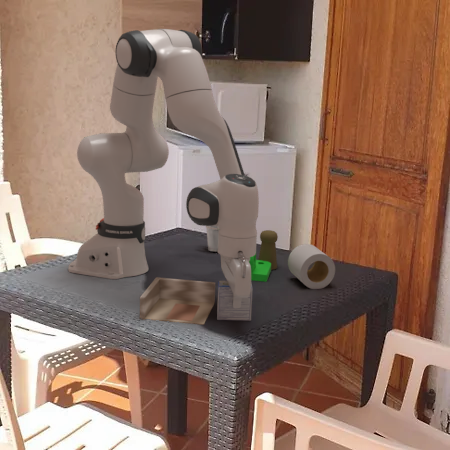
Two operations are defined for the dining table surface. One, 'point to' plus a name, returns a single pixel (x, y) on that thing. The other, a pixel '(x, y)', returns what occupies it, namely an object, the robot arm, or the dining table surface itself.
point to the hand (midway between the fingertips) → (234, 302)
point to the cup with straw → (212, 237)
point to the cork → (268, 247)
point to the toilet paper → (318, 273)
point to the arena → (178, 301)
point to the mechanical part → (259, 269)
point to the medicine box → (226, 307)
